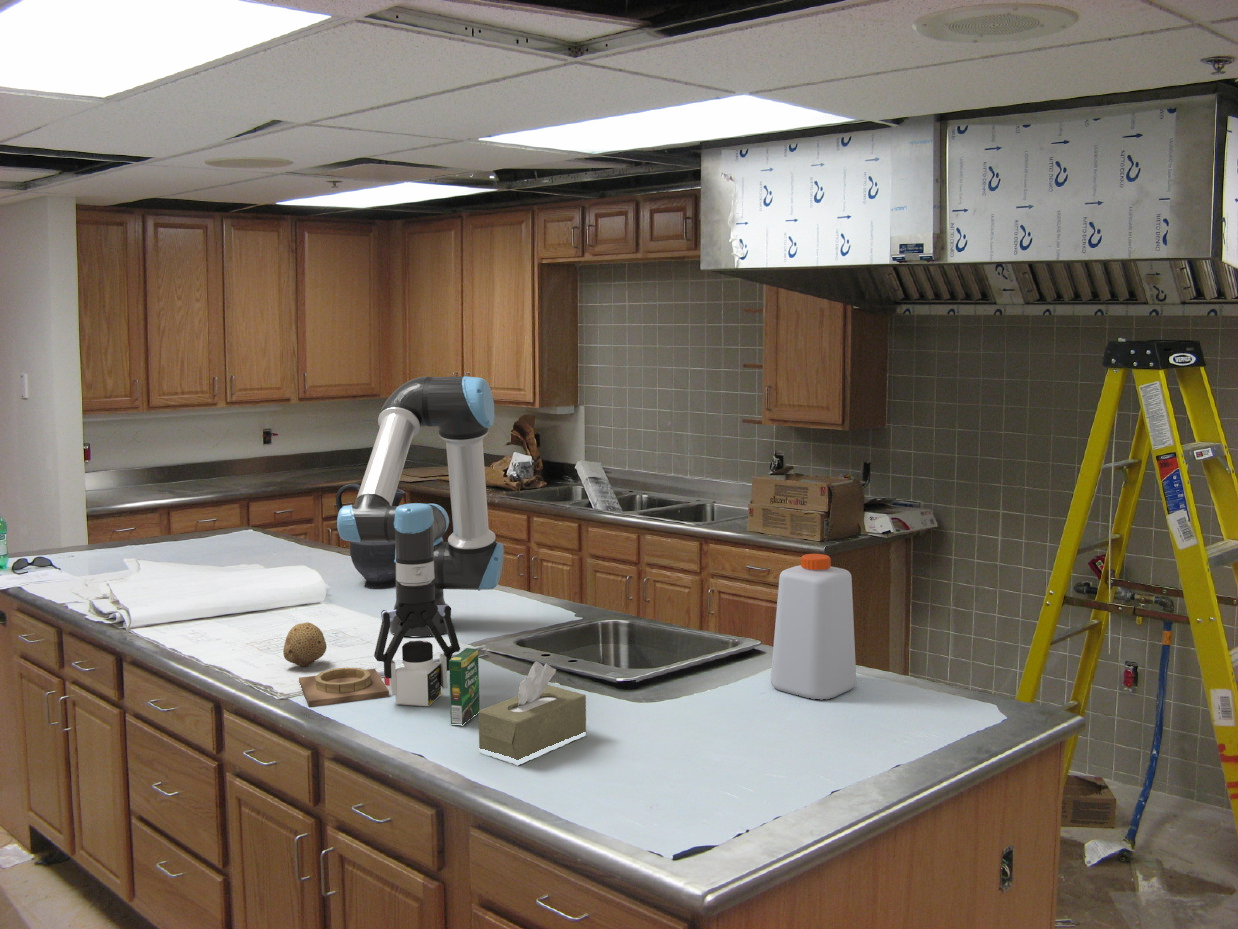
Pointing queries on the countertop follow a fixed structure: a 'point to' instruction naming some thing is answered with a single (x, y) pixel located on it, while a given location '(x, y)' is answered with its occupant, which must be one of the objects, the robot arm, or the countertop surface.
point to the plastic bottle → (814, 630)
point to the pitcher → (373, 552)
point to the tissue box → (532, 717)
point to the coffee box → (464, 686)
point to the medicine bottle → (418, 675)
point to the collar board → (342, 686)
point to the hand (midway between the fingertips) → (418, 689)
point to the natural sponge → (304, 644)
